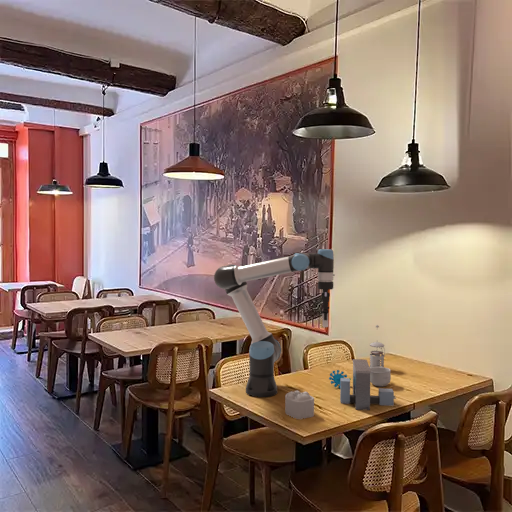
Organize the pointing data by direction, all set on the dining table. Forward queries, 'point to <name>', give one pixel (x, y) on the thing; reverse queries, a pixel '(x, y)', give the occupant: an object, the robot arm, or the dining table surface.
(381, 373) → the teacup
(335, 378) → the blue spiked virus model
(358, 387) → the block
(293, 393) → the lumpy-topped squat cylinder
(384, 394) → the blue-grey u-shaped block
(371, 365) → the french press
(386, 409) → the dining table surface
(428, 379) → the dining table surface
